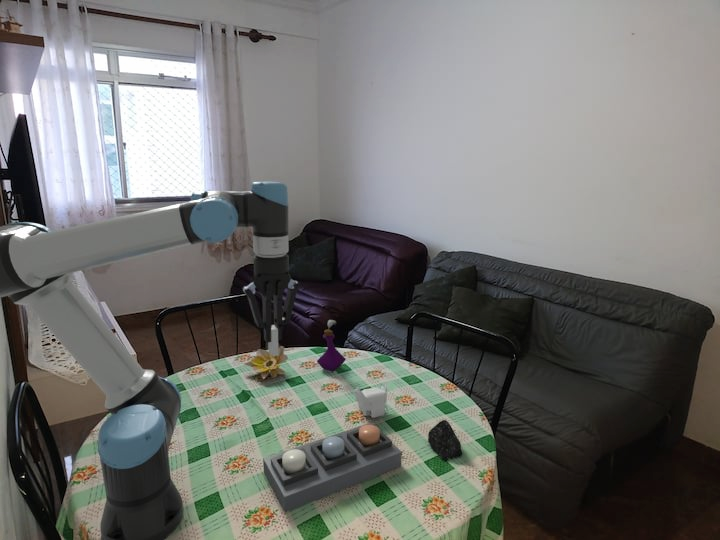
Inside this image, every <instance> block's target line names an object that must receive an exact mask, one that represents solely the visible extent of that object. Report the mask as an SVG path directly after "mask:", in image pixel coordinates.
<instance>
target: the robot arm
mask: <svg viewBox="0 0 720 540" xmlns="http://www.w3.org/2000/svg"><path fill="white" fill-rule="evenodd" d="M288 194H289V193H288V186H287V185H286V184H285V183H284V182H282V181H281V182H280V181H253V182H252V184H251V188H250V190H247V191H244V190H243V191H237V190H236V191H233V190H230V191H229V190H211V189H210V190H209V189H208V190H196V191H193V192H192V194H191V197H190V201H186V202H183V203H178V204H173V205H168V206H164V207H159V208H154V209H150V210H146V211H145V210H144V211H141V212H136V213H131V214H127V215H122V216H117V217H113V218H107V219H104V220H103V219H102V220H99V221H95V222H93V221H92V222H90V223H86V224H84V223H83V224H80V225H76V226H72V227H66V228H62V229H58V230H52V229H51V228H49V227H48V226H45V225H43V224H40V223H35V222H29V221H23V222H11V223H7V224H5V225H2V226H0V298H5V297H8V298H9V299H10V301H12V303H13V304H14V305H20V306H26V307H29V308H30V309H31V310H32V311H33V312H34V314H35V315H36V316H37V317H38V319H39V320H40V321H41V322H42V323H43V324H44V325H45V327H46V328H47V329H48V330H49V331H50V332H51V333H52V334H53V335H54V337H55V338H56V339H57V341H59V343H61V345H62V346H63V347H64V349H65V350H66V351H67V352H68V353H69V354H70V355H71V357H72V358H73V359H74V360H75V361H76V363H77V364H78V365H79V366H80V367H81V369H83V370H84V372H85V374H87V375H88V376H89V378H90V379H91V380H92V381H93V382H94V383H95V384H96V386H97V387H98V388H99V389H100V391H102V393H103V394H104V395H105V396H106V397H105V402H104V407H105V409H106V410H107V411H108V412H109V414H111V415H109V416H108V417H107V419H106V420H105V421H104V422H103V423H102V425H101V426H100V428H99V431H98V436H97V439H98V440H97V452H98V455H99V459H100V466H101V471H102V472H101V473H102V477H103V479H102V480H103V484H104V490H105V491H104V492H105V496H106V501H105V504H104V507H103V508H104V509H103V512H102V516H101V520H100V526H99V527H100V528H99V529H100V536H101V539H102V540H165V539H166V538H168V537H169V536H170V535H171V534H172V533H173V532H174V531H175V530H176V529H177V527H178V526H179V525H180V523H181V521H182V519H183V516H184V515H183V514H184V504H183V498H182V495H181V493H180V492H179V490H178V489H177V487H176V485H175V484H174V482H173V480H172V479H171V478H172V477H171V468H170V460H169V458H170V457H169V448H170V445H171V442H172V437H173V435H174V430H175V429H176V428H175V427H176V425H177V422H178V420H179V417H180V415H181V409H182V397H181V392H180V390H179V388H178V386H177V385H176V384H175V382H173V381H172V380H171V379H168V378H166V377H161V376H159V375H158V374H157V373H156V372H155V370H153V369H144V368H142V366H141V365H140V363H138V361H137V360H136V359H135V358H134V356H133V355H132V354H131V352H130V351H129V350H128V349H127V348H126V347H125V345H124V344H123V342H122V341H121V339H119V338H118V337H117V335H116V334H115V332H113V331H112V329H111V327H109V325H108V324H107V323H106V322H105V319H103V318H102V316H100V314H99V313H98V312H97V311H96V309H95V307H93V305H92V304H91V303H90V302H89V300H88V299H87V298H86V297H85V296H84V294H83V293H82V292H81V290H79V288H78V287H77V286H76V284H75V283H74V281H73V278H74V273H76V272H77V273H78V272H82V271H85V270H89V269H93V268H97V267H102V266H106V265H111V264H115V263H118V262H123V261H128V260H131V259H135V258H140V257H144V256H148V255H153V254H156V253H161V252H164V251H169V250H172V249H178V248H182V247H186V246H190V245H197V244H201V243H205V242H207V243H208V242H209V243H219V242H220V243H221V242H223V241H225V240H227V239H228V238H230V237H231V236H232V235H233V234H234V232H236V229H237V228H252V241H253V242H252V243H253V246H252V247H253V251H252V252H253V253H255V255H254V256H253V271H254V272H253V277H252V279H251V282H250V283H249V284H248V285H245V286H242V288H241V289H242V291H243V293H244V294H245V295H246V297H247V300H248V304H249V306H250V311H251V314H252V317H253V319H254V323H255V325H256V326H257V328H258V329H263V340H264V341H265V343H267V344H268V346H267V348H268V349H267V351H268V352H269V353H270V355H271V356H272V357H273V356H278V348H279V341H281V340H282V339H283V329H284V327H285V325H289V324H290V322H291V319H292V314H293V309H294V305H295V301H296V295H297V292H298V291H299V290H300V288H301V283H300V282H298V281H297V280H296V279H295V280H293V279H292V276H291V275H290V272H289V271H290V264H289V263H290V257H289V255H288V252H289V249H290V248H289V195H288ZM286 288H287V291H286V296H285V301H284V304H283V299H284V295H283V294H284V291H285V290H286ZM256 289H257V290H258V291H259V293H261V299H262V303H261V304H262V314H261V311H260V308H259V304H258V302H257V298H256V295H255V294H256ZM272 300H273V323H272Z"/></svg>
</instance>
